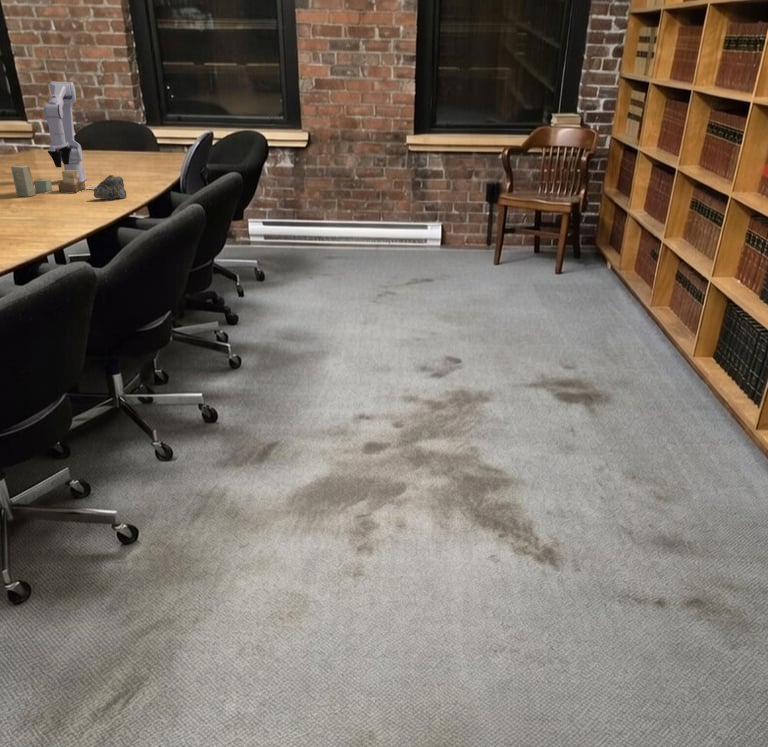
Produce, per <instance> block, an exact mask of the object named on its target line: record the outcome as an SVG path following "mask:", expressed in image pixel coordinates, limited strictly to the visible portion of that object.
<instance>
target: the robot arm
mask: <svg viewBox="0 0 768 747" xmlns="http://www.w3.org/2000/svg"><path fill="white" fill-rule="evenodd" d="M49 92H50V94H51V95H50V96H49V99H48V101H47V102H48V103H46V104H45V105H44V106H43V112H44V116H45V119H46V120H45V121H46V123H47V124H48V130H49V135H50V142H51V143H49V146H48V148H49V149H48V150H47V153H48V154H49V157H51V159H52V161H53V163H54V166H55V168H59V169H60V168H62V163H63V169H64V170H63V171H65V170H78V174H79V181H83V182H85V181H87V180H86V179H87V178H86V172H85V167H84V164H83V163H82V161H83V159H84V158H83V155H84V154H83V151H82V145H81V144H80V143H79V142H77V141H76V140H75V131H74V119H73V118H74V116H73V105H74V104H75V103H76V101H77V95H76V94H77V93H76V87H75V84H74V83H73V81H53V80H51V81H50V82H49Z"/></svg>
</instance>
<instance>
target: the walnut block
mask: <svg viewBox="0 0 768 747" xmlns="http://www.w3.org/2000/svg"><path fill="white" fill-rule="evenodd" d="M57 186H58V191H62V192H61V193H66V192H74V193H73V194H78V193H77V192H79V191H81V192H83V191H82V190H84V191H86V190H87V189H86V188H85V187H86V183H85V181H80V182H78V183H76V184H67V183H63V181H62V182H58V183H57ZM85 189H86V190H85ZM79 193H80V192H79Z"/></svg>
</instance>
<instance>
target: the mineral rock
mask: <svg viewBox="0 0 768 747" xmlns="http://www.w3.org/2000/svg"><path fill="white" fill-rule="evenodd" d="M97 185H98V186H97V187H96V188H94V189H93V190H92V191H93V197H95V198H96V199H100V200H101V199H102V200H104V199H105V200H113V199H125V197H126V198H127V191H126V189H125V183H124V179H123V177H122V176H120V175H119V176H114V174H110V175H107V177H105V179H104V180H102V181H101V182H100V183H98V184H97Z"/></svg>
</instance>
